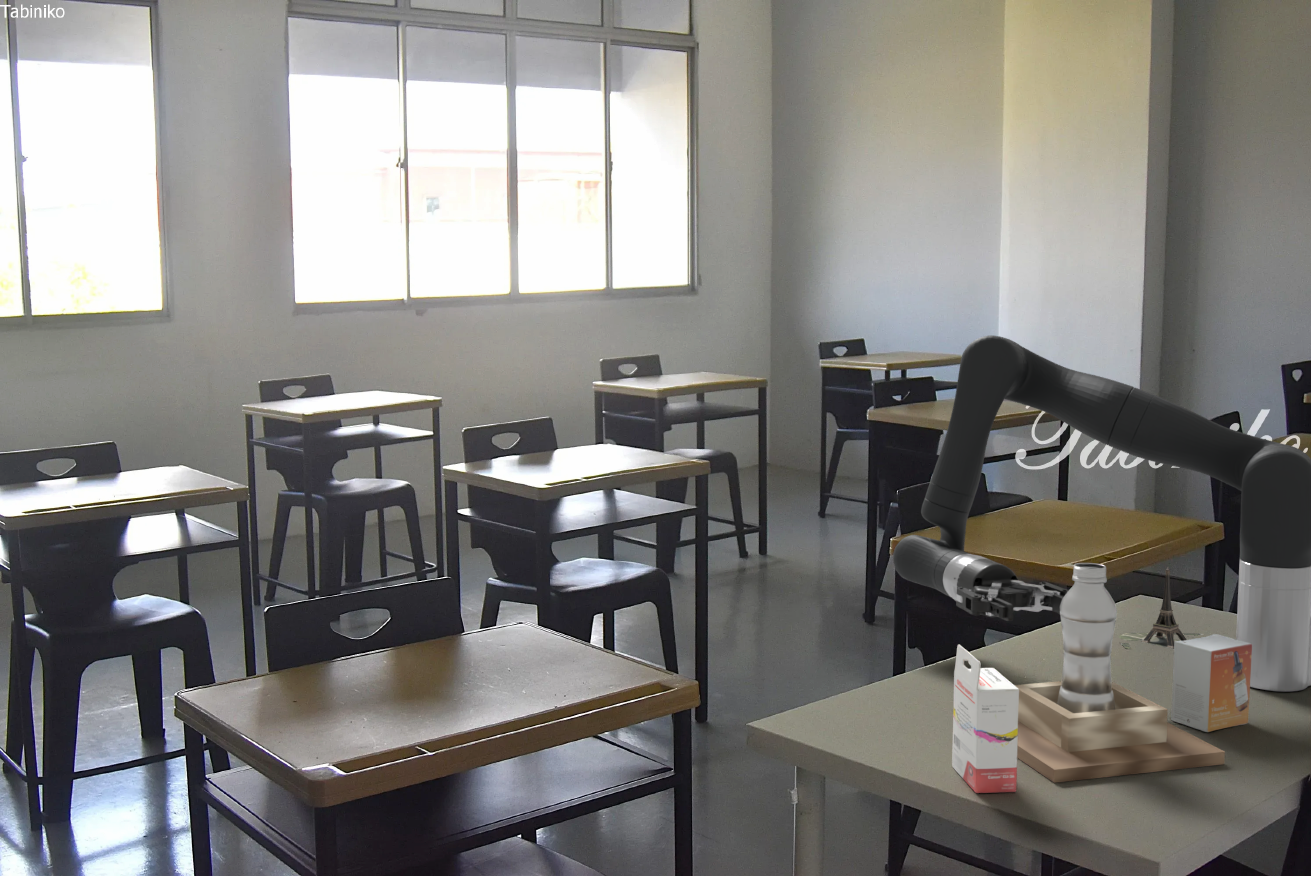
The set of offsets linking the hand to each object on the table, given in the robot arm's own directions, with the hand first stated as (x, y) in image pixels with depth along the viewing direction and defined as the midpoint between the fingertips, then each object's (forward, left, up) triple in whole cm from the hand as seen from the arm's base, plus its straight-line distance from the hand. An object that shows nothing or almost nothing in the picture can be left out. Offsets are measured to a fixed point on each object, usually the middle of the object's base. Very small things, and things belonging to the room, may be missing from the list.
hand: (1040, 611), depth 163 cm
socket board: (0, +11, -13) cm, 17 cm away
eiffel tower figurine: (-37, -26, -14) cm, 47 cm away
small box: (-19, +9, -14) cm, 25 cm away
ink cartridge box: (+18, +19, -14) cm, 30 cm away
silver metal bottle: (0, +11, -12) cm, 16 cm away
